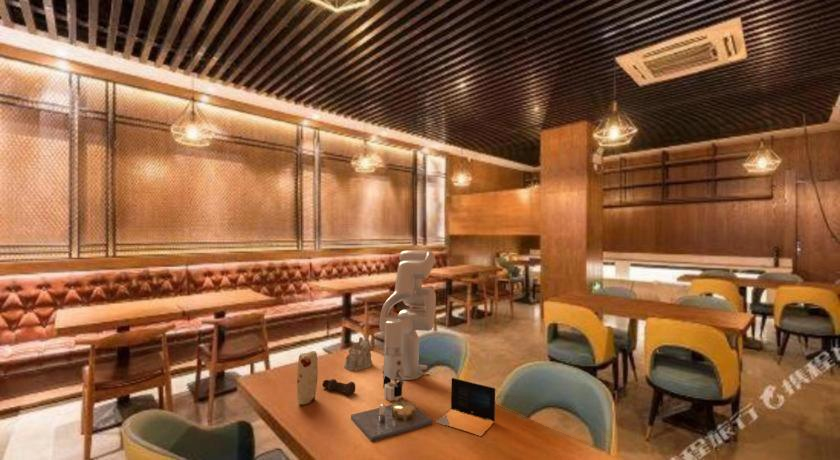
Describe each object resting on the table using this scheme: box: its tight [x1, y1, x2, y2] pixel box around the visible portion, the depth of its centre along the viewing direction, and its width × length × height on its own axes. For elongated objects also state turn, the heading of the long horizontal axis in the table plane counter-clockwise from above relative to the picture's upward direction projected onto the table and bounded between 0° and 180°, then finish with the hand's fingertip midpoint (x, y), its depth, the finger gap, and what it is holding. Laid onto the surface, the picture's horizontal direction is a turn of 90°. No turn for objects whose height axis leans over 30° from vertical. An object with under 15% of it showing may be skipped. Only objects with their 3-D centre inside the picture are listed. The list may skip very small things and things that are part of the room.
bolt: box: [321, 378, 356, 397], centre depth 169 cm, size 6×5×15 cm
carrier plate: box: [350, 400, 433, 443], centre depth 143 cm, size 24×18×7 cm
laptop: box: [435, 377, 496, 437], centre depth 144 cm, size 18×12×13 cm
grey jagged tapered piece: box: [343, 335, 373, 372], centre depth 203 cm, size 16×16×15 cm
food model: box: [296, 350, 319, 405], centre depth 158 cm, size 10×7×20 cm
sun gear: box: [391, 400, 417, 420], centre depth 146 cm, size 9×9×3 cm
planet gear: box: [383, 381, 402, 402], centre depth 164 cm, size 7×7×5 cm
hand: (392, 391), depth 163 cm, fingers open, 9 cm apart
